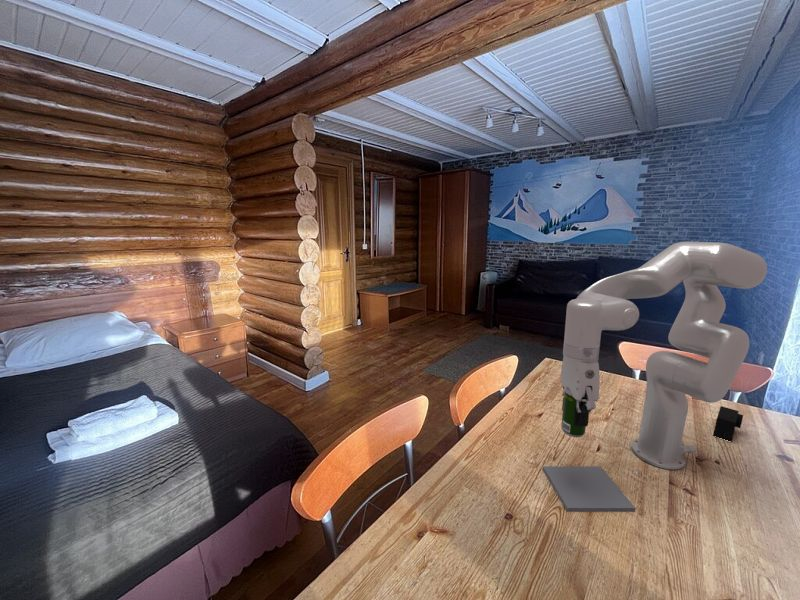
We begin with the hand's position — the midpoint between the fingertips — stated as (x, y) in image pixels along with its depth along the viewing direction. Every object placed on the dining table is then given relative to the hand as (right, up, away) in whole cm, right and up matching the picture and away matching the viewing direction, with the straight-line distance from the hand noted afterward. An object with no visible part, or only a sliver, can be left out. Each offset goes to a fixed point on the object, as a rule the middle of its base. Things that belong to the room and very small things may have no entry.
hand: (574, 417), depth 83 cm
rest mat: (+4, -19, +2) cm, 19 cm away
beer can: (0, -4, +1) cm, 4 cm away
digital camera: (+62, -14, +24) cm, 68 cm away
